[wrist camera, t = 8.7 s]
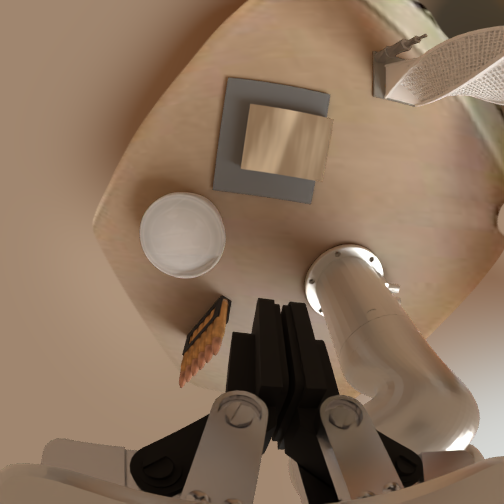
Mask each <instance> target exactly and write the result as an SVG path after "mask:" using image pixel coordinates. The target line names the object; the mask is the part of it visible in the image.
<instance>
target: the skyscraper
mask: <svg viewBox="0 0 504 504" xmlns="http://www.w3.org/2000/svg"><path fill="white" fill-rule="evenodd" d="M493 32H494V33H493ZM425 37H427V34H424V35H422V36H420V37H418V36H415V37H413V38H411V39H410V40H406V39H402V40H401V41H399V42H398V43H396V44H395V45H393V46H390V47H389V46H387V47H386V48H384V49H383V50H382V51H380V52H376V51H373V97H378V98H382V99H387V100H391V101H395V102H399V103H403V104H407V105H410V106H414V107H418V106H422V105H426V104H429V103H432V102H434V101H437V100H439V99H441V98H444V97H446V96H452V95H466V96H472V97H475V98H478V99H481V100H485V101H488V102H492V103H496V104H500V105H504V26H498V27H491V28H485V29H479V30H475V31H471V32H467V33H464V34H461V35H458V36H455V37H453V38H451V39H448V40H446V41H444V42H442V43H440V44H438V45H437V46H435V47H433V48H432V49H430V50H429V51H427V52H426V53H425V54H423V55H422V56H421V57H419V58H414V59H408V60H405V59H401V58H398V57H396V55H397V54H399V53H401V52H405V51H409V50H410V49H411V48H412V45H413V44H416V43H420V41H421V39H422V38H425Z"/></svg>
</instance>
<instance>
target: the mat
mask: <svg viewBox="0 0 504 504" xmlns="http://www.w3.org/2000/svg"><path fill="white" fill-rule="evenodd" d="M329 99H330V95H329V94H325V93H321V92H317V91H312V90H307V89H303V88H298V87H292V86H287V85H281V84H275V83H269V82H262V81H255V80H247V79H238V78H228V82H227V89H226V95H225V101H224V108H223V115H222V122H221V129H220V136H219V143H218V151H217V159H216V167H215V175H214V183H213V190H217V191H225V192H233V193H241V194H248V195H255V196H262V197H269V198H275V199H282V200H288V201H294V202H300V203H306V204H311V201H312V196H313V191H314V186H315V181H314V180H308V179H303V178H297V177H291V176H286V175H279V174H273V173H267V172H260V171H253V170H246V169H241V163H242V156H243V150H244V143H245V136H246V129H247V122H248V116H249V109H250V104H255V105H262V106H269V107H275V108H281V109H287V110H292V111H298V112H303V113H308V114H312V115H317V116H322V117H326V118H327V112H328V106H329Z"/></svg>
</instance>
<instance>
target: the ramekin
mask: <svg viewBox="0 0 504 504" xmlns="http://www.w3.org/2000/svg"><path fill="white" fill-rule="evenodd" d="M140 242H141V246H142V249H143V251H144V253H145V255H146V257H147V258H148V260H149V261H150V262H151V263H152V264H153V265H154V266H155V267H156V268H157V269H159V270H160V271H162V272H163V273H165V274H168V275H170V276H173V277H177V278H194V277H198V276H201V275H203V274H205V273H207V272H208V271H210V270H211V269H212V268H213V267H214V266H215V265H216V264H217V263H218V261H219V260H220V258H221V256H222V254H223V251H224V247H225V242H226V234H225V227H224V224H223V221H222V217H221V215H220V213H219V211H218V210H217V208H216V207H215V206H214V204H213V203H212V202H211V201H210V200H208V199H207V198H205V197H204V196H201V195H199V194H195V193H190V192H174V193H170V194H167V195H164V196H162V197H160V198H159V199H157V200H156V201H154V202H153V203H152V204H151V205H150V206H149V207H148V209H147V210H146V212H145V213H144V215H143V217H142V220H141V224H140Z"/></svg>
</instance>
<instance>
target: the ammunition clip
mask: <svg viewBox="0 0 504 504" xmlns="http://www.w3.org/2000/svg"><path fill="white" fill-rule="evenodd" d="M230 307H231V301H230V300H228V299H227V298H225V297H224V296H221V297H220V298H219V299H218V300H217V301H216V303H215V304H214V305H213V306H212V307H211V308H210V310H209V311H208V312H207V313H206V314H205V316H204V317H203V318H202V319H201V320H200V321H199V323H198V324H197V325H196V326H195V327H194V328H193V330H192V331H191V332H190V333H189V334H188V335H187V339H186V343H185V346H184V350H183V354H182V355H183V360H182V364H181V372H180V378H179V385H180V388H182V387H183V386H184V385H185V383H186V382H189V381H190V379H191V377H192V376H195V375H196V374H197V372H198V370H201V369H202V368H203V367H204V365H205V362H206V363H208V362H209V361H210V360H211V358H212V356H213V355H216V354H217V353H218V351H219V349H220V346H221V342H222V338H223V336H224V332H225V326H226V324H227V323H228V320H229V313H230Z"/></svg>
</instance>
